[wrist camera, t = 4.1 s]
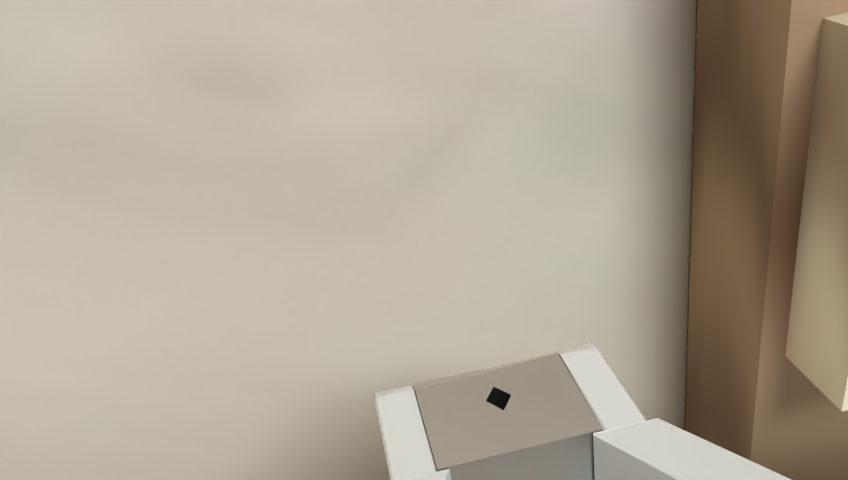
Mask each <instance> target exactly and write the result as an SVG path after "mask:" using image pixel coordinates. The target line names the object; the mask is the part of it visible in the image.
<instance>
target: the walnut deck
mask: <svg viewBox="0 0 848 480" xmlns="http://www.w3.org/2000/svg"><path fill="white" fill-rule="evenodd" d="M844 13H848V0H698V6H697V40H696V75H695V109H694V144H693V178H692V213H691V247H690V281H689V316H688V350H687V385H686V419H685V431H687V432H689V433H691V434H694V435H696V436H698V437H700V438H702V439H704V440H707V441H709V442H711V443H713V444H715V445H718V446H720V447H722V448H724V449H726V450H728V451H731V452H733V453H735V454H737V455H739V456H741V457H744V458H746V459H748V460H750V461H752V462H754V463H757V464H759V465H761V466H763V467H765V468H767V469H770V470H772V471H774V472H776V473H778V474H781V475H783V476H785V477H787V478H789V479H791V480H848V410H846V411H843V412H842V411H841V410H840V409H839V408H838V407H837V406H836V405H834V404H833V403H832V402H831V401H830V400H829V399H828V398H827V397H826V396H825V395H824V394H823V393H822V392H821V391H820V390H819V389H818V388H817V387H816V386H815V385H814V384H813V383H812V382H811V381H810V380H809V379H808V378H807V377H806V376H805V375H804V374H803V373H802V372H801V371H800V370H799V369H798V368H797V367H796V366H795V365H794V364H793V363H792V362H791V361H790V360H789V359H788V358H787V357H786V356H785V354H786V345H787V336H788V327H789V318H790V309H791V300H792V291H793V282H794V273H795V264H796V255H797V246H798V237H799V228H800V219H801V210H802V201H803V192H804V183H805V174H806V165H807V156H808V147H809V138H810V129H811V120H812V111H813V102H814V93H815V84H816V75H817V66H818V57H819V48H820V39H821V30H822V21H823V18H825V17H830V16H835V15H839V14H844Z"/></svg>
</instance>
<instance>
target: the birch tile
mask: <svg viewBox="0 0 848 480" xmlns="http://www.w3.org/2000/svg"><path fill="white" fill-rule="evenodd" d="M785 356H786V357H787V358H788V359H789V360H790V361H791V362H792V363H793V364H794V365H795V366H796V367H797V368H798V369H799V370H800V371H801V372H802V373H803V374H804V375H805V376H806V377H807V378H808V379H809V380H810V381H811V382H812V383H813V384H814V385H815V386H816V387H817V388H818V389H819V390H820V391H821V392H822V393H823V394H824V395H825V396H826V397H827V398H828V399H829V400H830V401H831V402H832V403H833V404H834V405H836V406H837V407H838V408H839V409H840V410H841V411H842V412H843V411H846V410H848V13H844V14H839V15H835V16H830V17H825V18H823V21H822V30H821V39H820V48H819V57H818V66H817V75H816V84H815V93H814V102H813V111H812V120H811V129H810V138H809V147H808V156H807V165H806V174H805V183H804V192H803V201H802V210H801V219H800V228H799V237H798V246H797V255H796V264H795V273H794V282H793V291H792V300H791V309H790V318H789V327H788V336H787V345H786V354H785Z"/></svg>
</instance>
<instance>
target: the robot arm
mask: <svg viewBox="0 0 848 480" xmlns="http://www.w3.org/2000/svg"><path fill="white" fill-rule="evenodd" d="M375 405H376V410H377V415H378V420H379V425H380V430H381V435H382V440H383V445H384V450H385V455H386V460H387V465H388V470H389V475H390V480H791V479H789V478H787V477H785V476H783V475H781V474H778V473H776V472H774V471H772V470H770V469H767V468H765V467H763V466H761V465H759V464H757V463H754V462H752V461H750V460H748V459H746V458H744V457H741V456H739V455H737V454H735V453H733V452H731V451H728V450H726V449H724V448H722V447H720V446H718V445H715V444H713V443H711V442H709V441H707V440H704V439H702V438H700V437H698V436H696V435H694V434H691V433H689V432H687V431H685V430H683V429H681V428H678V427H676V426H674V425H672V424H670V423H668V422H665V421H663V420H661V419H659V418H655V419H651V420H646V419H645V417H644V416H643V414H642V413H641V411H640V410H639V408H638V407H637V405H636V404H635V402H634V401H633V399H632V398H631V397H630V395H629V394H628V392H627V391H626V389H625V388H624V386H623V385H622V383H621V382H620V380H619V379H618V377H617V376H616V375H615V373H614V372H613V370H612V369H611V367H610V366H609V364H608V363H607V361H606V360H605V358H604V357H603V355H602V354H601V353H600V351H599V350H598V348H597V347H596V346H595V345H593V344H591V343H588V344H584V345H580V346H576V347H572V348H568V349H564V350H560V351H556V352H555V353H553V354H548V355H544V356H540V357H535V358H531V359H527V360H523V361H519V362H514V363H510V364H506V365H502V366H498V367H493V368H489V369H484V370H479V371H474V372H469V373H464V374H460V375H455V376H450V377H445V378H440V379H436V380H431V381H426V382H421V383H416V384H413V388H412V386H410V385H409V386H404V387H400V388H395V389H390V390H386V391H381V392H377V393H375Z"/></svg>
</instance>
